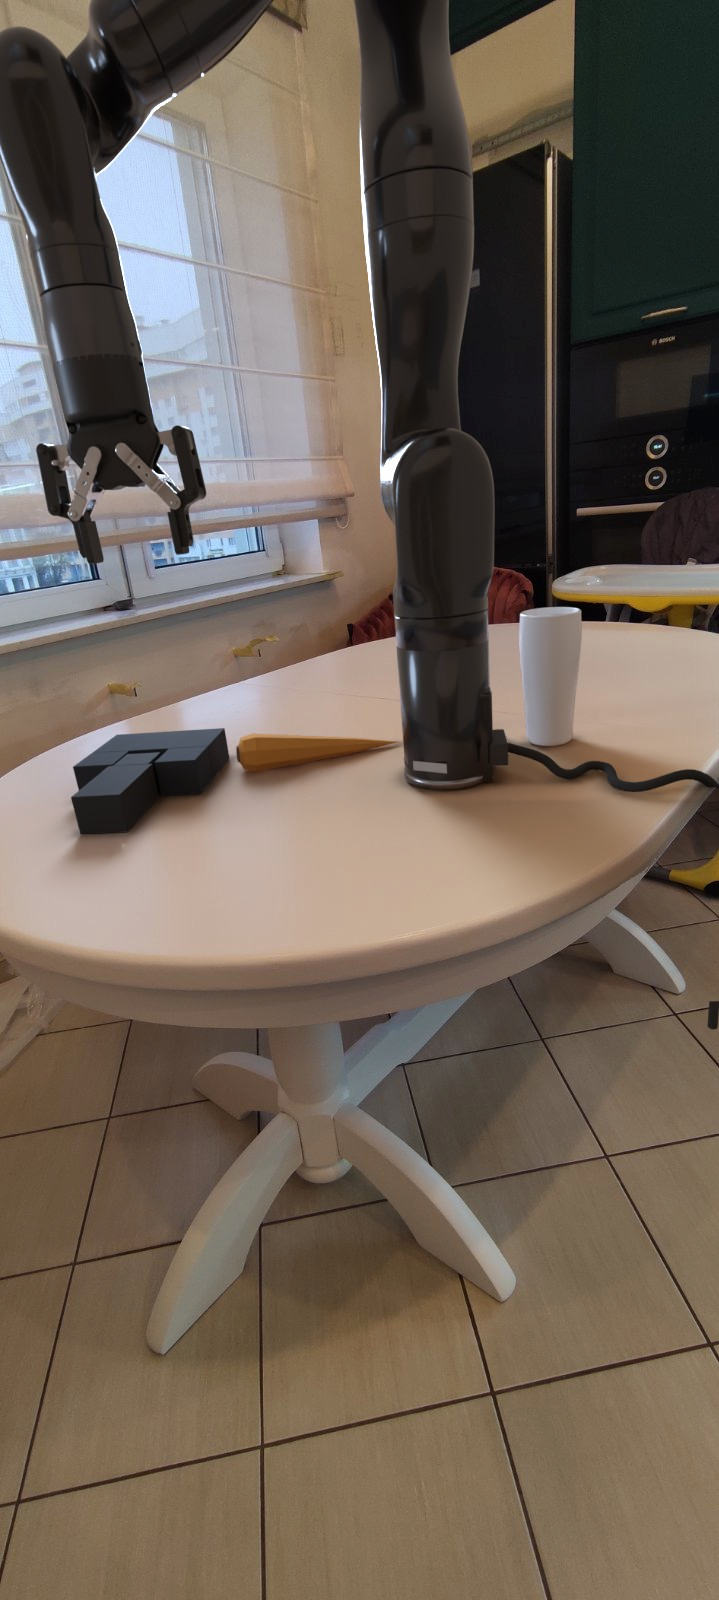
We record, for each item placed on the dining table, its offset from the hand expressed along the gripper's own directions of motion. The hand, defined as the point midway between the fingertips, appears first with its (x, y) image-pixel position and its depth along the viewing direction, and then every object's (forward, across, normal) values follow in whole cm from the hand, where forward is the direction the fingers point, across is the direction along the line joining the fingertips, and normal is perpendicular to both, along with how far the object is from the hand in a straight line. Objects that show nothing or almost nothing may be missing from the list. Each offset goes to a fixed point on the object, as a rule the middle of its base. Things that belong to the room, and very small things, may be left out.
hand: (139, 558), depth 68 cm
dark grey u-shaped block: (+25, -7, +8) cm, 27 cm away
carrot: (+25, +12, +12) cm, 31 cm away
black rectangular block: (+25, -7, 0) cm, 26 cm away
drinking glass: (+26, +39, +14) cm, 49 cm away
